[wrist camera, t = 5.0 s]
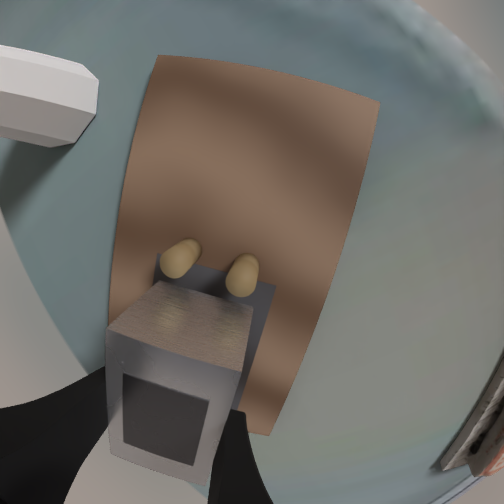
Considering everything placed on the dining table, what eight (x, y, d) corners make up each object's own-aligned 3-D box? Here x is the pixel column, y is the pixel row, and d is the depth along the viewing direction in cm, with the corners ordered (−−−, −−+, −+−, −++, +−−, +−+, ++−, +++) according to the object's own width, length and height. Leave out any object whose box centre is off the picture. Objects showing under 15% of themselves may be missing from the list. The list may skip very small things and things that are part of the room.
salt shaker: (81, 159, 15) (-88, 165, 4) (27, 138, 15) (-111, 138, 4) (116, 71, 13) (-33, -1, 3) (56, 61, 13) (-72, 18, 3)
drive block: (222, 416, 15) (205, 486, 10) (146, 392, 15) (110, 454, 10) (253, 306, 13) (241, 372, 8) (159, 280, 13) (105, 328, 8)
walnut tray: (269, 425, 18) (267, 464, 15) (114, 379, 18) (91, 409, 15) (374, 106, 13) (399, 89, 10) (164, 61, 13) (137, 36, 10)
